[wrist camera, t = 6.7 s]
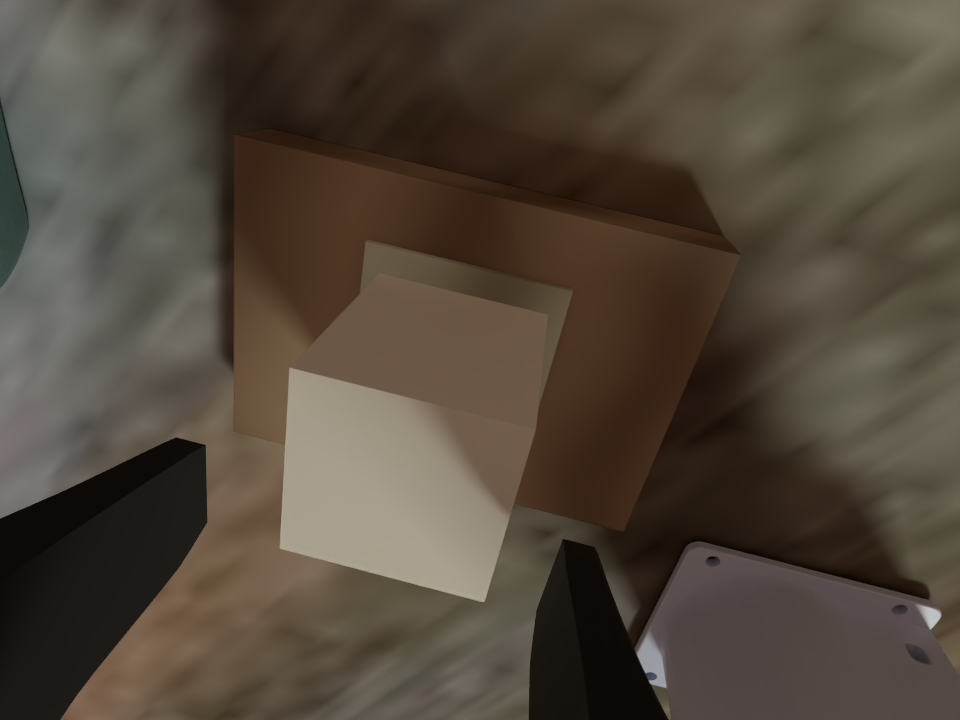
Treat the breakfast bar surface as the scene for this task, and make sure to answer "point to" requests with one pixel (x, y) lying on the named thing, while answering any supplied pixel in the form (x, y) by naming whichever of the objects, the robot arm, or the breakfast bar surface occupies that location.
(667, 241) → the walnut base
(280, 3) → the breakfast bar surface
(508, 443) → the cream block
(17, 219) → the flower pot
